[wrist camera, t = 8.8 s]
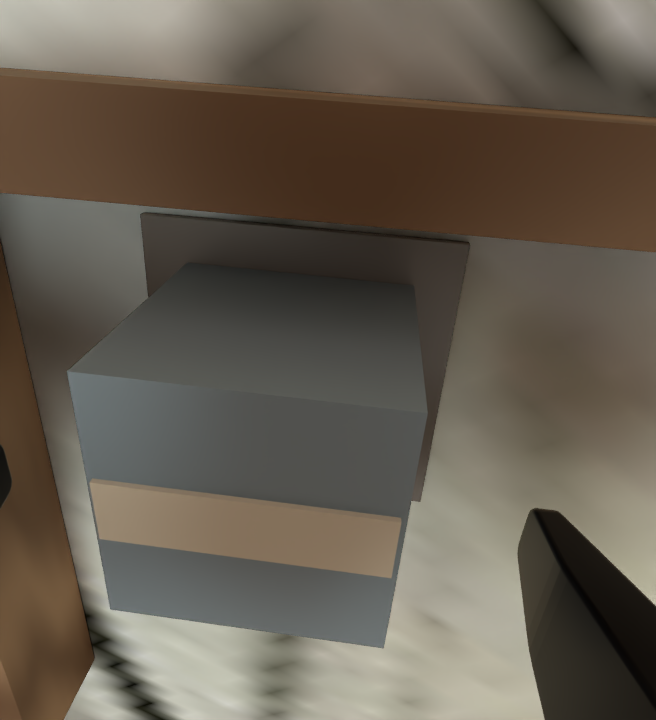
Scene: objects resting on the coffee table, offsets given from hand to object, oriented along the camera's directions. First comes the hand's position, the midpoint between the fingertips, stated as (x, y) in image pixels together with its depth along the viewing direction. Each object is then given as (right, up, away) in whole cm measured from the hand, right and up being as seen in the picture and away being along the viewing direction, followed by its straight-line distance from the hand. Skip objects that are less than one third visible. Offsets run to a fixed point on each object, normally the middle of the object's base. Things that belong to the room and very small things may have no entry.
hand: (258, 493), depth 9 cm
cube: (0, +2, +4) cm, 4 cm away
